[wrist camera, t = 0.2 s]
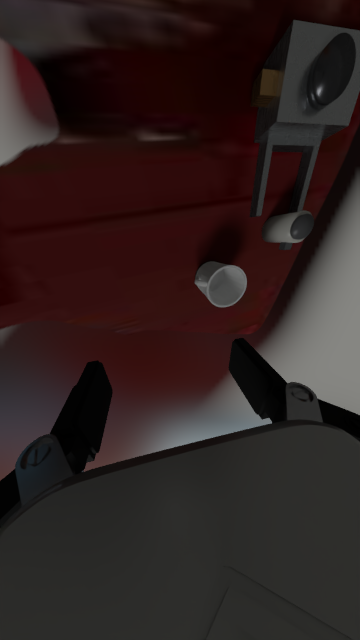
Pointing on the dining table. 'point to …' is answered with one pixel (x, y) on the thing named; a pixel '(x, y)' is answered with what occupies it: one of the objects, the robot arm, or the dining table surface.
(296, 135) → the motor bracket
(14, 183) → the dining table surface
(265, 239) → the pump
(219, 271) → the mug
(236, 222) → the dining table surface
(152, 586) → the robot arm
